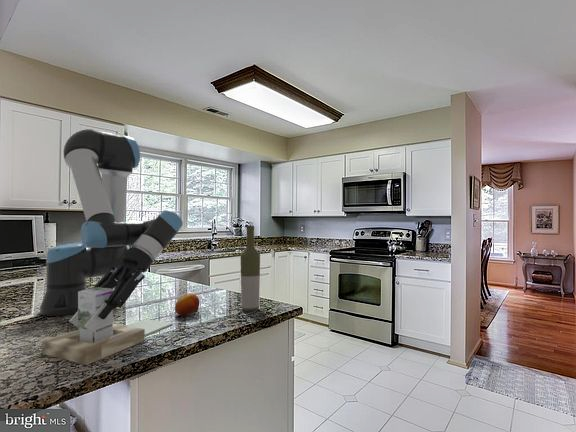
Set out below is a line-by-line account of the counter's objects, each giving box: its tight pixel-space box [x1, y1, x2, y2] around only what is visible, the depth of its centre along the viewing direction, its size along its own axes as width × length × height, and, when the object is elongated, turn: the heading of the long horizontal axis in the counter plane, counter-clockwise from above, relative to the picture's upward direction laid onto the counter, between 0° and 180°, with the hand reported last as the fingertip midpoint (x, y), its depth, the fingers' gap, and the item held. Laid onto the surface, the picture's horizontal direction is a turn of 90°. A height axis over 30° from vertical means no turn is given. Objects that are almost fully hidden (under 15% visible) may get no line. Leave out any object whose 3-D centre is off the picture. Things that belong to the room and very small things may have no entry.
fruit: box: [174, 293, 200, 317], centre depth 112 cm, size 8×8×8 cm
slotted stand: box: [41, 323, 146, 366], centre depth 83 cm, size 16×16×3 cm
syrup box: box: [77, 287, 114, 344], centre depth 83 cm, size 6×6×14 cm
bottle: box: [240, 225, 261, 312], centre depth 117 cm, size 7×7×30 cm
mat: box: [126, 318, 173, 337], centre depth 97 cm, size 11×11×1 cm
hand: (81, 326), depth 80 cm, fingers closed on syrup box, 7 cm apart
